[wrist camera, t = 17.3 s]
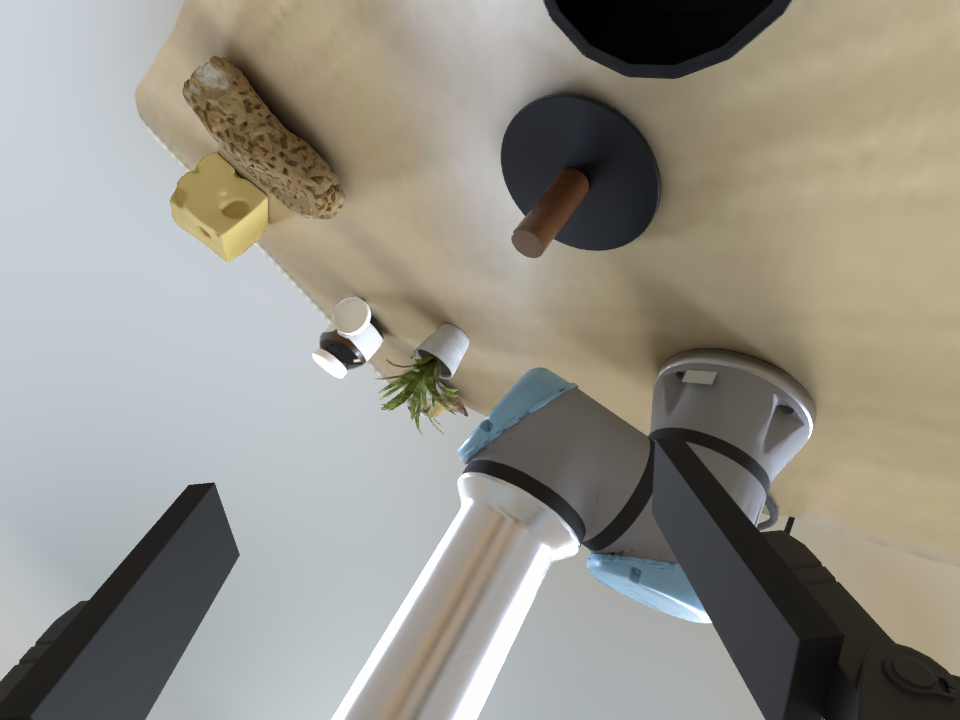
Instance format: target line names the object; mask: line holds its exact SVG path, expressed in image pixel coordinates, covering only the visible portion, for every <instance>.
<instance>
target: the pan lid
mask: <svg viewBox="0 0 960 720" xmlns="http://www.w3.org/2000/svg"><path fill="white" fill-rule="evenodd" d="M501 166H502V172H503V176H504V180H505V183H506V185H507V188H508V190H509V192H510V194H511V196H512V198H513V200H514V201H515V203H516V205H517V206H518V208H519V209H520V210H521V211H522V213H523V214H524V215H525V218H524V219H523V220H522V221H521V223H520V224H519V225H518V226H517V228H516V229H515V230H514V231H513V233H512V243H513V245H514V247H515V248H516V249H517V250H518V251H519V252H520V253H521V254H523V255H524V256H527V257H529V258H537V257H540V256H541V255H542V254H543V252H544V251H545V250H546V248H547V247H548V246H549V244H550V243H551V242H552V240H553V239H555V240H557V241H559V242H561V243H564V244H566V245H569V246H572V247H575V248H579V249H585V250H595V251H600V250H610V249H615V248H618V247H621V246H624V245H626V244H628V243H630V242H632V241H633V240H634V239H636V238H637V237H639V236H640V235H641V234H642V233H643V232H644V231H645V229H646V228H647V227H648V225H649V224H650V223H651V221H652V219H653V217H654V215H655V213H656V211H657V208H658V205H659V200H660V193H661V181H660V174H659V169H658V166H657V162H656V159H655V157H654V154H653V152H652V150H651V148H650V146H649V145H648V143H647V141H646V140H645V138H644V137H643V135H642V134H641V133H640V131H639V130H638V129H637V128H636V127H635V126H634V125H633V124H632V123H631V122H630V121H629V120H628V119H627V118H626V117H625V116H624V115H622V114H621V113H620V112H618V111H617V110H616V109H614V108H612V107H610V106H609V105H607V104H605V103H603V102H601V101H598V100H596V99H594V98H590V97H587V96H583V95H577V94H554V95H548V96H545V97H542V98H539V99H537V100H535V101H533V102H531V103H529V104H528V105H526V106H525V107H524V108H523V109H521V110H520V111H519V113H518V114H517V115H516V116H515V117H514V118H513V119H512V121H511V122H510V124H509V126H508V127H507V130H506V132H505V134H504V138H503V142H502V148H501Z"/></svg>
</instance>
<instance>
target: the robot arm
mask: <svg viewBox="0 0 960 720" xmlns="http://www.w3.org/2000/svg"><path fill="white" fill-rule="evenodd" d="M815 418H816V410H815V406H814V403H813V401H812V399H811V397H810V396H809V394H808V393H807V392H806V390H805V389H804V388H803V387H802V386H801V385H800V384H799V383H798V382H797V381H795V380H794V379H793V378H792V377H790V376H789V375H787V374H786V373H785V372H783V371H781V370H780V369H778V368H776V367H774V366H772V365H770V364H768V363H766V362H764V361H761V360H759V359H756V358H753V357H750V356H747V355H744V354H740V353H736V352H731V351H725V350H715V349H698V350H690V351H686V352H682V353H679V354H677V355H675V356H673V357H671V358H670V359H668V360H667V361H666V362H665V363H664V365H663V366H662V368H661V370H660V372H659V374H658V376H657V378H656V380H655V382H654V390H653V404H652V417H651V430H650V433H649V436H646V435H644V434H643V433H642V432H640V431H639V430H637V429H636V428H634V427H633V426H631V425H630V424H628V423H627V422H626V421H624V420H623V419H621V418H620V417H618V416H617V415H615V414H614V413H612V412H611V411H610V410H608V409H607V408H605V407H604V406H602V405H601V404H599V403H598V402H596V401H595V400H594V399H592V398H591V397H589V396H588V395H586V394H585V393H583V392H582V391H581V390H579V389H578V385H576V384H574V383H569V382H567V381H566V380H564V379H563V378H561V377H559V376H558V375H556V374H555V373H553V372H551V371H550V370H548V369H545V368H534V369H531V370H529V371H528V372H526V373H525V374H524V375H523V376H522V377H521V378H520V380H519V381H518V382H517V383H516V384H515V385H514V386H513V387H512V388H511V390H510V391H509V392H508V393H507V394H506V395H505V396H504V397H503V399H502V400H501V401H500V402H499V403H498V404H497V405H496V407H495V408H494V409H493V410H492V411H491V412H490V413H489V415H488V416H487V417H486V418H485V420H484V421H483V422H482V423H481V424H480V425H479V426H478V427H477V428H476V430H475V431H474V432H473V433H472V434H471V435H470V436H469V437H468V439H467V440H466V441H465V442H464V443H463V445H462V446H461V447H460V448H459V449H458V452H457V453H458V456H459V458H461V461H462V463H464V464H468V465H467V467H466V468H465V470H464V472H463V473H462V475H461V476H460V478H459V480H458V483H457V484H458V489H459V494H460V499H461V503H462V506H461V510H460V511H459V513H458V514H457V516H456V518H455V519H454V521H453V523H452V524H451V526H450V527H449V529H448V531H447V532H446V534H445V536H444V537H443V539H442V540H441V542H440V544H439V545H438V547H437V549H436V550H435V552H434V554H433V555H432V557H431V558H430V560H429V562H428V563H427V565H426V566H425V568H424V570H423V571H422V573H421V575H420V576H419V578H418V579H417V581H416V583H415V584H414V586H413V588H412V589H411V591H410V593H409V594H408V596H407V597H406V599H405V601H404V602H403V604H402V606H401V607H400V609H399V610H398V612H397V614H396V615H395V617H394V618H393V620H392V622H391V623H390V625H389V627H388V628H387V630H386V632H385V633H384V635H383V637H382V638H381V640H380V641H379V643H378V644H377V646H376V648H375V649H374V651H373V653H372V654H371V656H370V658H369V659H368V661H367V662H366V664H365V666H364V667H363V669H362V671H361V672H360V674H359V676H358V677H357V679H356V680H355V682H354V684H353V685H352V687H351V688H350V690H349V692H348V693H347V695H346V697H345V698H344V700H343V702H342V703H341V705H340V706H339V708H338V710H337V711H336V713H335V715H334V716H333V718H332V719H331V720H477V717H478V716H479V714H480V711H481V709H482V707H483V705H484V703H485V701H486V699H487V697H488V695H489V692H490V690H491V688H492V686H493V684H494V682H495V680H496V678H497V676H498V673H499V671H500V669H501V667H502V665H503V663H504V661H505V659H506V657H507V655H508V652H509V650H510V648H511V646H512V644H513V642H514V640H515V638H516V636H517V633H518V631H519V629H520V627H521V625H522V623H523V621H524V619H525V617H526V615H527V612H528V610H529V608H530V606H531V604H532V602H533V600H534V598H535V596H536V593H537V591H538V589H539V587H540V585H541V582H542V581H543V579H544V577H545V575H546V572H547V570H548V568H549V566H550V564H551V563H553V562H554V561H557V560H561V559H565V558H568V557H572V556H574V555H575V554H576V553H577V551H578V550H579V548H580V546H581V544H583V545H584V546H586V547H587V548H589V549H590V550H591V554H590V555H589V556H588V557H587V559H588V563H587V569H588V571H589V573H590V574H591V575H593V576H595V578H596V579H597V580H598V581H600V582H602V583H603V584H604V585H606V586H608V587H610V588H612V589H613V590H615V591H617V592H619V593H621V594H623V595H625V596H627V597H629V598H631V599H633V600H635V601H637V602H640V603H642V604H644V605H647V606H649V607H651V608H654V609H656V610H659V611H661V612H664V613H667V614H670V615H673V616H675V617H679V618H682V619H685V620H689V621H694V622H699V623H712V624H713V626H714V627H715V629H716V631H717V632H718V635H719V636H720V638H721V640H722V642H723V644H724V646H725V647H726V649H727V651H728V653H729V654H730V656H731V658H732V660H733V662H734V664H735V665H736V667H737V669H738V671H739V673H740V674H741V676H742V678H743V680H744V681H745V683H746V685H747V687H748V689H749V691H750V693H751V694H752V696H753V698H754V700H755V701H756V703H757V705H758V707H759V709H760V711H761V712H762V714H763V716H764V718H765V720H824V719H825V720H960V677H958V676H954V675H951V674H950V673H949V672H948V671H947V670H946V669H944V668H943V667H942V666H941V665H939V664H938V663H937V662H935V661H934V660H933V659H931V658H930V657H928V656H926V655H924V654H922V653H920V652H919V651H917V650H914V649H913V648H910V647H907V646H903V645H900V644H896V643H895V642H894V641H892V639H891V638H890V637H889V636H888V635H887V634H886V633H885V632H884V631H883V630H882V629H881V627H880V626H879V625H878V624H877V623H876V622H875V621H874V620H873V619H872V618H871V617H870V615H869V614H868V613H867V612H866V611H865V610H864V609H863V608H862V607H861V606H860V604H858V602H857V601H856V600H855V599H854V598H853V597H852V596H851V595H850V594H849V593H848V591H847V590H846V589H845V588H844V587H843V586H842V585H841V584H840V583H839V582H836V580H835V577H834V576H833V575H832V574H831V573H830V572H829V571H828V570H827V569H826V567H823V566H822V564H821V562H820V561H819V560H818V559H817V558H816V556H815V555H814V554H813V553H812V552H811V551H810V550H809V549H808V548H807V547H806V546H805V545H804V544H803V543H801V542H800V541H798V540H797V539H795V538H793V537H792V536H790V532H791V529H792V526H793V523H794V520H795V518H794V517H790V516H789V518H788V521H787V524H786V526H785V529H784V531H782V530H779V531H769V532H759V531H760V530H763V529H766V528H769V527H771V526H773V525H774V524H775V523H776V522H777V520H778V514H777V510H776V508H775V506H774V504H773V503H772V501H771V500H770V498H769V497H768V496H767V493H768V490H769V488H770V485H771V482H772V480H773V479H774V478H775V477H776V476H777V475H778V473H779V472H780V471H781V470H782V469H783V468H784V467H785V466H786V464H787V463H788V462H789V461H790V460H791V459H792V458H793V457H794V456H795V454H796V453H797V452H798V451H799V450H800V449H801V448H802V447H803V445H804V444H806V442H807V441H808V440H809V438H810V435H811V432H812V429H813V426H814V422H815ZM764 503H765V505H766V506H767V508H768V510H769V512H770V519H769V520H767V521H765V522H763V523H760V524H758V522H759V519H760V516H761V513H762V509H763V506H764ZM239 556H240V555H239V551H238V549H237V546H236V543H235V540H234V537H233V534H232V532H231V529H230V526H229V523H228V520H227V517H226V514H225V511H224V508H223V506H222V503H221V500H220V497H219V494H218V491H217V488H216V485H215V483H204V484H194V485H188V487H187V488H186V489H185V490H184V491H183V492H182V493H181V495H180V496H179V497H178V498H177V499H176V500H175V502H174V503H173V504H172V505H171V506H170V507H169V509H168V510H167V511H166V512H165V513H164V514H163V515H162V517H161V518H160V519H159V520H158V521H157V522H156V524H155V525H154V526H153V527H152V528H151V529H150V531H149V532H148V533H147V534H146V535H145V536H144V538H143V539H142V540H141V541H140V542H139V543H138V544H137V545H136V547H135V548H134V549H133V550H132V551H131V552H130V554H129V555H128V556H127V557H126V558H125V559H124V561H123V562H122V563H121V564H120V565H119V566H118V568H117V569H116V570H115V571H114V572H113V573H112V575H111V576H110V577H109V578H108V579H107V580H106V581H105V583H104V584H103V585H102V586H101V587H100V588H99V589H98V591H97V592H96V593H95V594H94V595H93V596H92V598H91V599H90V600H88V601H80V602H79V603H78V604H76V605H75V606H74V607H72V608H71V609H70V610H68V611H67V612H66V613H65V614H63V615H62V616H61V617H59V618H58V619H57V620H56V621H55V622H54V623H53V624H52V625H51V626H50V627H49V628H48V629H47V630H46V632H45V633H44V634H43V635H42V636H41V637H40V638H39V639H38V640H37V641H36V645H35V646H34V647H31V648H30V649H29V650H28V651H27V653H26V654H25V655H24V656H23V657H22V658H21V659H20V662H19V664H18V665H15V666H14V667H13V668H12V669H11V670H10V672H9V673H8V674H7V675H6V676H5V677H4V678H3V679H2V681H0V720H145V719H146V717H147V716H148V714H149V712H150V710H151V709H152V707H153V705H154V703H155V702H156V700H157V698H158V696H159V695H160V693H161V691H162V690H163V688H164V686H165V684H166V682H167V681H168V679H169V677H170V676H171V674H172V672H173V670H174V669H175V667H176V665H177V663H178V662H179V660H180V658H181V656H182V655H183V653H184V651H185V649H186V647H187V646H188V644H189V642H190V641H191V639H192V637H193V636H194V634H195V632H196V630H197V629H198V627H199V625H200V623H201V622H202V620H203V618H204V616H205V615H206V613H207V611H208V609H209V608H210V606H211V604H212V603H213V601H214V599H215V597H216V595H217V593H218V592H219V590H220V589H221V587H222V585H223V583H224V582H225V580H226V578H227V576H228V575H229V573H230V571H231V569H232V568H233V566H234V564H235V562H236V561H237V559H238V557H239Z"/></svg>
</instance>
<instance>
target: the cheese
mask: <svg viewBox="0 0 960 720" xmlns="http://www.w3.org/2000/svg"><path fill="white" fill-rule="evenodd" d="M170 204H171V210H172V216H173V219H174V221H175V223H176V224H177V225H178V226H179V227H181V228H182V229H183V230H185V231H186V232H188V233H189V234H191V235H192V236H194V237H196V238H197V239H198V240H199V241H201V242H202V243H203V244H205V245H206V246H207V247H209V248H210V249H211V250H212V251H214V252H215V253H216V254H218V255H219V256H220V257H221V258H222V259H223V260H225V261H226V262H229V261H231V260H232V259H234V258H236V257H238V256H240V255H241V254H242V253H244V252H245V251H246V250H247V249H249V248H250V247H251V246H252V245H253V244H254V243H255V242H256V241H257V240H258V239H259V238H260V237H261V236H262V234H263V233H264V232H265V230H266V229H267V228H268V224H269V220H268V197H267V195H265V194H264V193H263V192H262V191H261V190H259V189H258V188H257V187H256V186H254V185H253V184H252V183H251V182H249V181H248V180H246V179H244V178H240V177H239V176H238V175H237V174H236V172H235V169H234V168H233V167H232V166H231V165H230V164H229V163H227V162H226V161H225V160H224V159H223V158H222V157H221V156H220V155H218V154H217V153H216V152H214V153H211V154H209V155H207V156H205V157H204V158H203V159H201V160H200V162H199V163H198V165H197V167H196V169H195V170H194V171H192V172H188V173H186V174H185V175H184V176H182V177H181V178H180V180H179V181H178V183H177V188H176V190H175V192H174V193H173V195H172V197H171V200H170Z"/></svg>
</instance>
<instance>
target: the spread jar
mask: <svg viewBox="0 0 960 720" xmlns="http://www.w3.org/2000/svg"><path fill="white" fill-rule="evenodd" d="M383 339H384V335H383V331H382V328H381V326H380V324H379V323H378V322H377V321H376V320H375V319H374V318H373V317H372V316H371V311H370V308H369V306H368V305H367V304H366V303H365V302H364V301H363V300H362V299H360V298H358V297H348V298H345V299H343V300H341V301H340V302H339V303H338V304H337V305H336V307H335V308H334V311H333V314H332V323H331V324H330V325H329V326H328V327H327V328H326V329H325V330H324V331H323V333H322V334H321V336H320V338H319V348H318V349H316V351H315V352H314V353H313V354H312V357H313V358H314V360H315V361H316V362H317V363H318V364H319V365H320V366H321V367H322V368H323V369H324V370H326V371H327V372H328V373H330V374H331V375H333V376H335V377H337V378H340V379H341V378H343V377H344V376H345V375H346V373H347V371H349V370H353V369H356V368H358V367H360V366H362V365H363V364H365V363H366V362H367V361H368V360H369V359H370V358H371V357H372V355H373V354H374V353H375V352H376V351H377V349H378V348H379V347H380V346H381V344H382V342H383Z"/></svg>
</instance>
